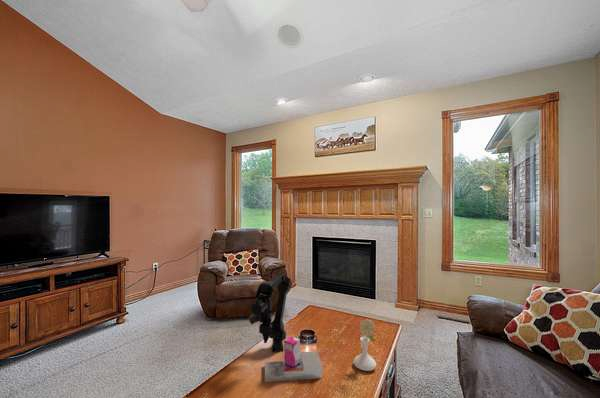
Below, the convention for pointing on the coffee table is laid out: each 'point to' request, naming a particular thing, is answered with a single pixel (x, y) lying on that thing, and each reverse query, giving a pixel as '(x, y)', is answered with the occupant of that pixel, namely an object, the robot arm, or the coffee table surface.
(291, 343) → the supplement box
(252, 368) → the coffee table surface
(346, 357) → the coffee table surface
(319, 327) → the coffee table surface
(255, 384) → the coffee table surface
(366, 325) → the flower in vase
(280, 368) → the step stand
